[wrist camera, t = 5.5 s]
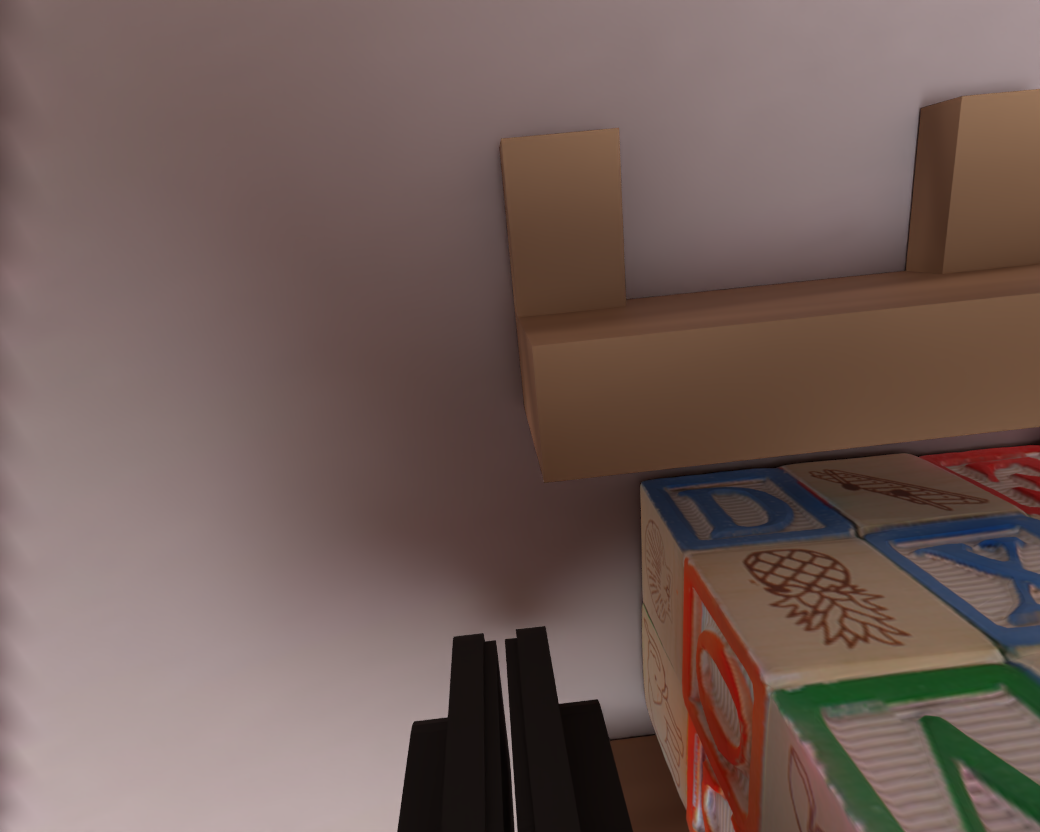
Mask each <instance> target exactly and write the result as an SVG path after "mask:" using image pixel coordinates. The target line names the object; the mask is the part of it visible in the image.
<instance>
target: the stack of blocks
mask: <svg viewBox="0 0 1040 832" xmlns="http://www.w3.org/2000/svg"><path fill="white" fill-rule="evenodd" d="M640 498H641V538H642V593H643V601H644V602H643V605H642V652H643V676H644V689H645V700H646V705H647V709H648V712H649V716H650V719H651V722H652V724H653V727H654V730H655V733H656V736H657V738H658V741H659V744H660V746H661V749H662V752H663V754H664V757H665V760H666V762H667V765H668V767H669V769H670V772H671V774H672V777H673V780H674V782H675V785H676V788H677V791H678V793H679V796H680V798H681V800H682V802H683V804H684V807H685V809H686V820H687V824H688V828H689V831H690V832H1040V445H1026V446H1018V447H1003V448H991V449H982V450H971V451H966V452H959V453H944V454H934V455H925V456H920V457H917V456H914V455H911V454H907V453H900V454H891V455H881V456H872V457H862V458H852V459H842V460H830V461H819V462H808V463H797V464H791V465H785V466H781V467H778V468H759V469H747V470H738V471H725V472H717V473H710V474H702V475H689V476H680V477H673V478H659V479H653V480H647V481H643V482H641V486H640Z"/></svg>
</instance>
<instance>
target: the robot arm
mask: <svg viewBox="0 0 1040 832" xmlns="http://www.w3.org/2000/svg"><path fill="white" fill-rule="evenodd" d="M516 635H517V638H512V639H505V647H506V662H507V678H508V693H509V708H510V723H511V738H512V753H513V769H514V784H515V799H516V814H517V828H518V832H633V829H632V825H631V821H630V817H629V813H628V810H627V806H626V802H625V798H624V794H623V790H622V787H621V783H620V779H619V775H618V771H617V767H616V763H615V760H614V756H613V752H612V748H611V744H610V740H609V737H608V733H607V729H606V725H605V721H604V717H603V714H602V710H601V706H600V703H599V701H598V699H597V700H589V701H580V702H572V703H564V704H559V703H558V697H557V691H556V685H555V679H554V674H553V668H552V662H551V656H550V650H549V645H548V639H547V633H546V628H545V626H542V627H534V628H525V629H516ZM397 832H515V831H514V815H513V798H512V782H511V768H510V758H509V749H508V740H507V731H506V723H505V714H504V705H503V697H502V688H501V679H500V671H499V662H498V653H497V645H496V640H495V641H486V642H485V639H484V634H483V633H482V634H473V635H464V636H456V637H454V638H453V648H452V663H451V679H450V695H449V711H448V718H439V719H431V720H423V721H415V722H414V723H413V725H412V730H411V735H410V743H409V750H408V757H407V765H406V772H405V779H404V787H403V794H402V802H401V809H400V816H399V824H398V831H397Z"/></svg>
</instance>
